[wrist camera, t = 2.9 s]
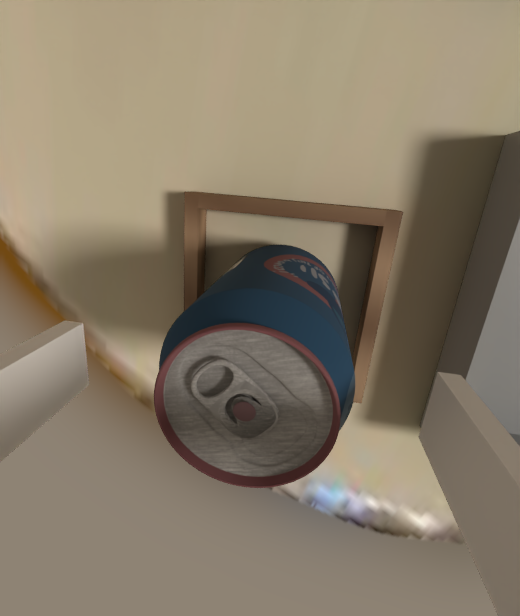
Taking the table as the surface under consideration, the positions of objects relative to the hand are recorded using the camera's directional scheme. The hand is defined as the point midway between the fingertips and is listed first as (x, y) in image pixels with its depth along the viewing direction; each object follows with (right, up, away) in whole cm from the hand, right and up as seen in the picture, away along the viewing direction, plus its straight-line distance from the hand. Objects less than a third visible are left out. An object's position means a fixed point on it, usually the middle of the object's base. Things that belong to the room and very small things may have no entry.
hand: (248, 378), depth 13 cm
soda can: (+2, +3, +9) cm, 10 cm away
